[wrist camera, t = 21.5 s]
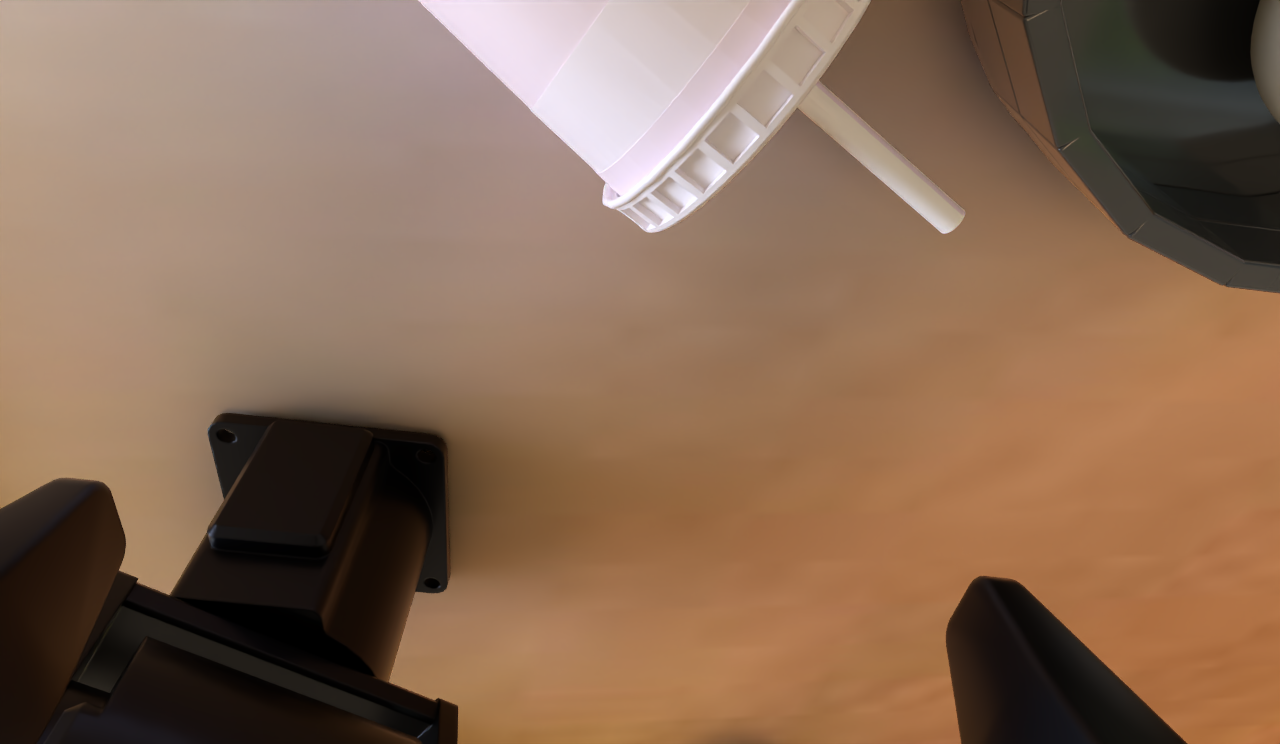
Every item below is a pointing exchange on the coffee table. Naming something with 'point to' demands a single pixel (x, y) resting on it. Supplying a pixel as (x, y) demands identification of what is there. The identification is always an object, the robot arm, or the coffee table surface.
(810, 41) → the smoothie
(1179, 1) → the pan
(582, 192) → the coffee table surface
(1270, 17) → the cream ball
